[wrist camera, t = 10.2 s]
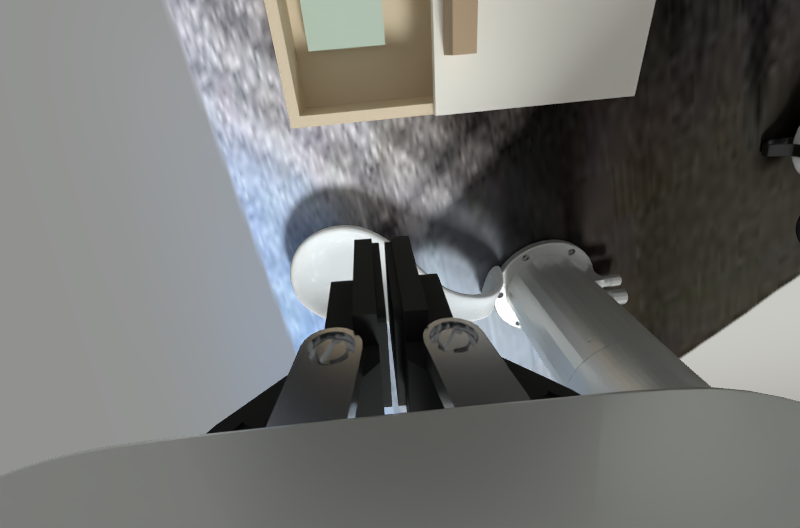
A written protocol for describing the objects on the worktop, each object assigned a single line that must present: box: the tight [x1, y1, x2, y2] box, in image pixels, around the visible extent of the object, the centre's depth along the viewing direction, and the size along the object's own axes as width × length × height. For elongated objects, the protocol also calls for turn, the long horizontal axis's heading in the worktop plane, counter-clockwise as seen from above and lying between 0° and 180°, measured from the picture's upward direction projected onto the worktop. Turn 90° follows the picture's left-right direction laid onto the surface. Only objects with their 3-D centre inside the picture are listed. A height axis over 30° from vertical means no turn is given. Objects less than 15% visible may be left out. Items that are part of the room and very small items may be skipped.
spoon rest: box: [290, 225, 504, 324], centre depth 40 cm, size 24×12×7 cm, turn 79°
